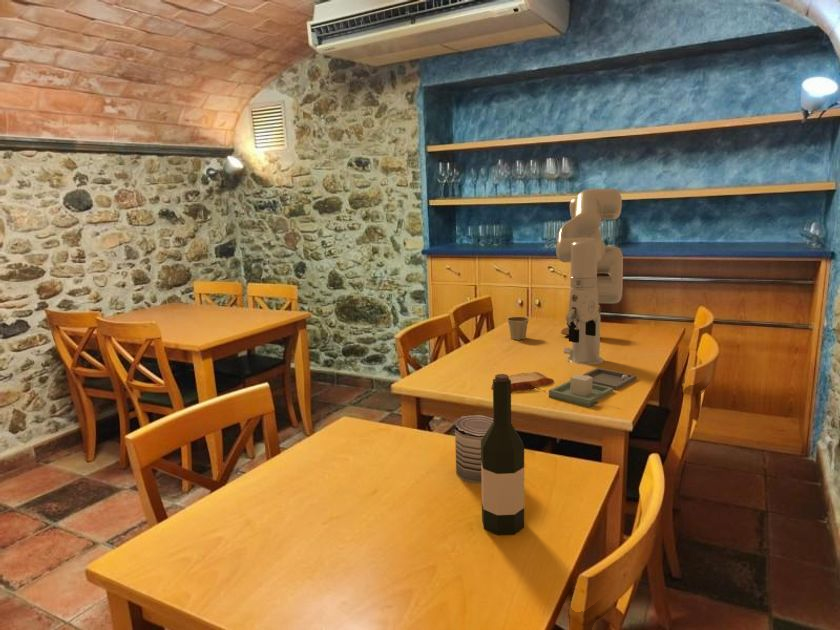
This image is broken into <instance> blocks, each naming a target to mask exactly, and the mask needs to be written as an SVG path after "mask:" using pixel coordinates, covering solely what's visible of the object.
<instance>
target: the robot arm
mask: <svg viewBox="0 0 840 630" xmlns="http://www.w3.org/2000/svg"><path fill="white" fill-rule="evenodd" d="M622 199H623V198H622V196H621V193H620V191H619V190H617V189H616V188H590V189H584V190H582V191H580V192H579V193H578V194H577V195H576V197H573V198H572V199H571V200H570V202H569V212H570V213H569V214H570V217H571V218H570V220H568V221H567V222H566V223H564V224H563V225H562V227H561V228H560V229H559V232H558V233H557V234H558V235H557V240H556V248H555V250H556V251H555V254H556V256H557V260H558V261H560V262H562V263H570V280H569V281H570V286H569V287H570V288H569V289H570V292H569V300H568V313H567V314H566V315H565V320H566V325H567V327H568V329H569V336H568V341H569V342H571V343H572V348H571V347H567V346H565V347H564V350H563V354H566V355H569V357H568V358H567V362H568V363H573V364H577V365H587V366H588V365H598V364H602V363H604V361H605V360H604V358H602V356H600V348H601V345H600V344H601V340H600V339H601V313H599V307H598V305H599V304H617V303H620V301H621V300H622V297H623V287H624V286H623V285H624V283H623V280H624V279H623V277H624V258H623V257H624V256H623V252H622V250H621V249H620V248H619V247H618V246H612V245H609V246H608V245H606V244H605V243H604V241H603V240H602V232H601V230H600V227H601V223H602V221H605V220H606V221H607V220H608V221H611V220H616V219H618V218H619V217H620V215H621V213H622V206H623V200H622ZM598 274H607V275H608V276H598Z"/></svg>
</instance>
